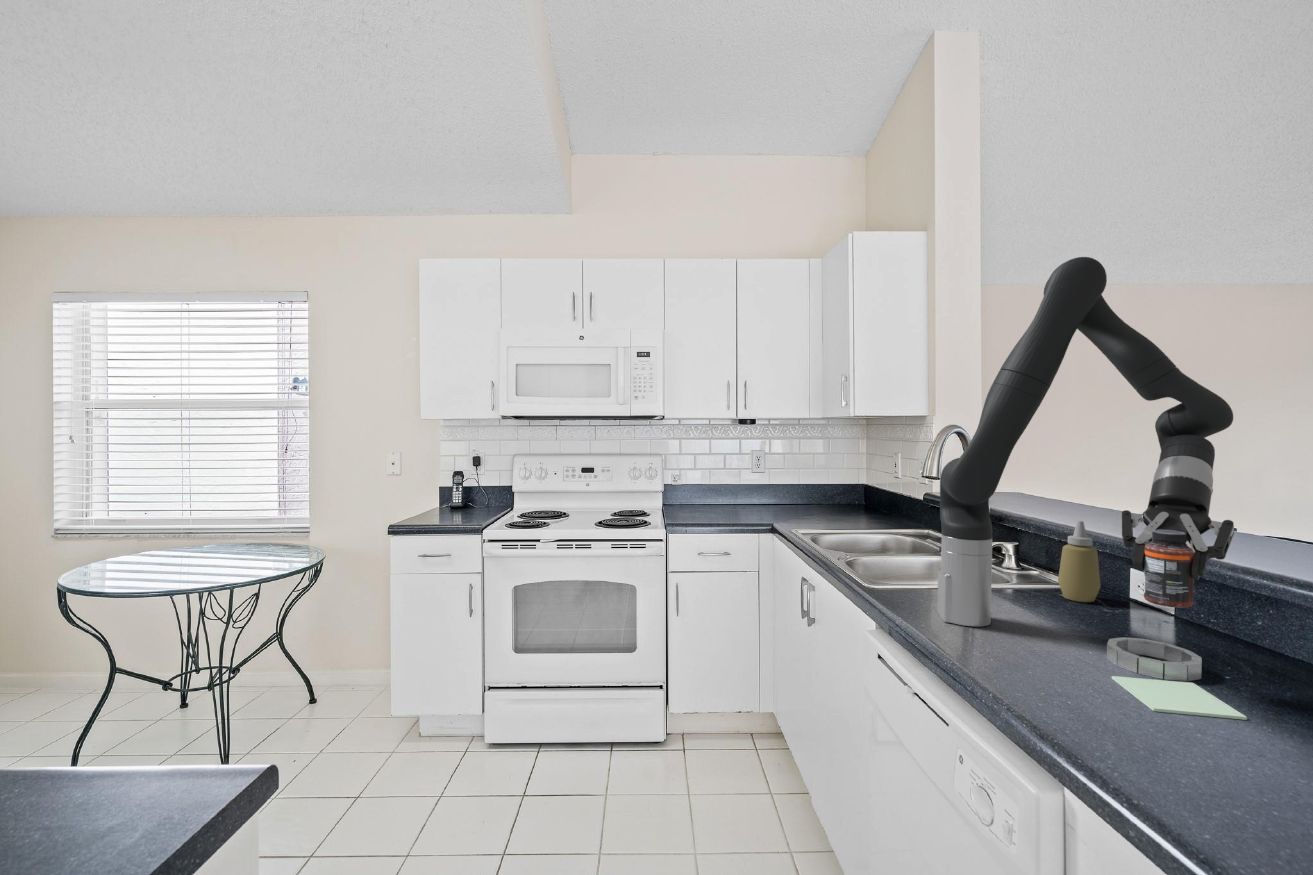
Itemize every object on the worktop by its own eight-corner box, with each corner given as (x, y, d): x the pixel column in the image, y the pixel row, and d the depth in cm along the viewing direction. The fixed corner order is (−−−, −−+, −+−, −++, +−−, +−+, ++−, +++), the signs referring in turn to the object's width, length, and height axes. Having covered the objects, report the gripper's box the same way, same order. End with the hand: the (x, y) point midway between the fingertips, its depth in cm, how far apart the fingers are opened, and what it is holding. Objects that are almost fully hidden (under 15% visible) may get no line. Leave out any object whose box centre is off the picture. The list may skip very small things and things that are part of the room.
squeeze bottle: (1092, 596, 140) (1094, 519, 139) (1106, 606, 132) (1108, 525, 132) (1052, 592, 142) (1054, 517, 142) (1063, 602, 135) (1065, 523, 134)
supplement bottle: (1172, 598, 96) (1175, 528, 96) (1203, 609, 90) (1206, 535, 90) (1133, 597, 96) (1135, 527, 96) (1162, 608, 90) (1164, 534, 90)
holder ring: (1131, 676, 95) (1132, 661, 95) (1093, 648, 107) (1094, 635, 107) (1220, 684, 92) (1220, 668, 92) (1171, 654, 104) (1172, 640, 104)
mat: (1153, 711, 83) (1153, 708, 83) (1111, 678, 94) (1111, 675, 94) (1246, 719, 81) (1246, 717, 81) (1193, 685, 92) (1193, 682, 92)
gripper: (1124, 471, 103) (1105, 549, 95) (1240, 477, 92) (1230, 566, 85) (1129, 499, 107) (1112, 576, 99) (1242, 508, 96) (1232, 596, 88)
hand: (1167, 571), depth 92 cm, fingers closed on supplement bottle, 6 cm apart
